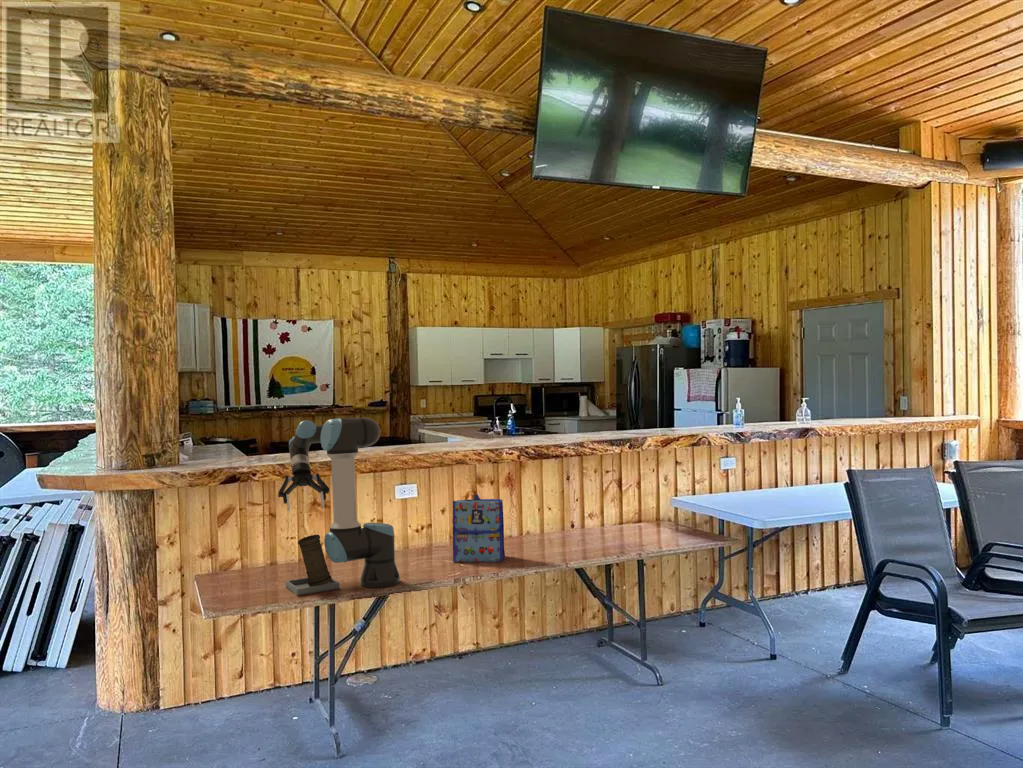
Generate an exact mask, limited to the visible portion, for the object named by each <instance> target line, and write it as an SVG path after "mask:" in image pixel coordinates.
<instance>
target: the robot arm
mask: <svg viewBox="0 0 1023 768" xmlns="http://www.w3.org/2000/svg"><path fill="white" fill-rule="evenodd" d="M381 433H382V432H381V428H380V425H379V423H377V421H376V420H374V419H371V418H370V417H347V418H345V417H344V418H341V417H340V418H338V417H337V418H332V419H328V420H326V421H325V422H324V424H318V425H316V423H314V422H313V421H311V420H302V421H301V422H299V423H298V425H297V428H296V429H295V433H294V436H293V437H292V438H290V439H289V440H288V450H289V457H290V458H289V459H290V464H292V466H293V467H291V474H292V475H291V476H289V475H285V477H284V480H283V483H282V485H281V487H280V489H279V491H278V494H277V496H278V498H282V500H283V504H284V505H285V504H286V509H287V510H286V511H287V512H290V511H291V510H290V508H291V507H290V498H289V497H290V496H289V495H290V493H292V492H293V490H295V489H296V488H297V487H310V488H312V489H314V491H317V493H319V494H320V496H319V497H320V502H321V509H324V508H325V501H326V500H327V494H329V493H330V487H329V486H328V485H327V484H326V482H325V481H324V480H323V479H322V478H321V476H320V474H319V473H316V474H315V475H313V474H312V473H311V471H312V470H311V465H310V464H311V463H310V457H309V450H310V447H311V445H312V444H319V443H320V444H321V448H322V449H323V450H324V451H326V456H328V457H329V458H330V461H331V484H332V487H331V489H332V510H333V511H332V513H333V522H332V524H331V525H330V526H329V532H327V533H326V534H325V535H324V539H323V540H324V541H323V542H324V549H325V553H326V555H327V557H328V558H329V560H331V562H332V563H335V564H341V563H348V562H354V561H359V560H364V565H363V569H362V572H361V575H360V578H359V580H360V585H361V586H362V587H365V588H375V589H376V588H387V587H392V586H395V585H398V584H399V583H400V582H401V579H400V576H401V575H400V573H399V570H398V568H397V565H396V560H395V554H396V553H395V529H394V526H393V525H391V524H388V523H384V522H365V523H363V526H362V524H361V523H360V522H359V521H358V519H357V518H358V517H357V496H356V495H357V491H356V471H355V470H356V469H355V468H356V466H355V458H356V456H357V455H358V454H359V449H361V448H368V447H370V446H373V445H374V444H376V443H377V442H378V440H379V439H380V437H381ZM309 465H310V466H309ZM291 481H292V482H291ZM290 482H291V484H290V485H289V483H290ZM316 482H317V483H316ZM288 485H289V486H288ZM287 486H288V487H287ZM286 488H287V489H286Z"/></svg>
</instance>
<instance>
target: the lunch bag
mask: <svg viewBox="0 0 1023 768" xmlns="http://www.w3.org/2000/svg"><path fill="white" fill-rule="evenodd" d="M504 521H505V520H504V504H503V499H501V498H500V499H499V498H490V499H489V498H480V496H479V494H478V493H475V494H474V496H473V499H461V500H460V499H459V500H458V499H457V500H453V501H452V521H451V523H452V561H453V562H452V563H503V561H504V559H503V558H504V557H505V556H506V552H505V527H504V524H505V523H504ZM503 556H504V557H503Z"/></svg>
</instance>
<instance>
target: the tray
mask: <svg viewBox="0 0 1023 768" xmlns="http://www.w3.org/2000/svg"><path fill="white" fill-rule="evenodd" d="M308 582H309V581H308V576H307V577H303V578H296V579H295V578H294V579H290V580H289V579H288V580H285V588H286V589H287V590H288V591H290V592H291V591H292V592H291V593H293V594H294V595H295V594H296V595H295V596H297V597H299V596H298V595H301V596H306V595H305V594H307V595H312V593H313V594H318V593H317V592H319V593H324V592H323V591H325V592H329V590H331V591H335V590H334V589H337V590H341V589H340V585H341V584H340V582H339V581H337V580H336V579H334V578H333V577H331V581H329V582H328V583H326V584H324V585H318V586H311V587H310V586H309V585H308Z"/></svg>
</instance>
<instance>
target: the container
mask: <svg viewBox="0 0 1023 768" xmlns="http://www.w3.org/2000/svg"><path fill="white" fill-rule="evenodd" d="M297 545H299V548H300V553H301V555H302V559H303V562H304V563H303V564H304V565H305V566H304V567H305V570H306V576H307V577H308V581H309V582H308V585H309V586H310V587H311V586H318V585H324V584H326V583H328V582H329V581H331V578H332V575H331V573H330V571H329V570H328V565H327V563H326V562H327V561H326V559H325V555H324V552H323V547H322V544H321V535H320V534H312V535H307V536H305V537H303V538H301V539H299V540H298V541H297Z"/></svg>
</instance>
